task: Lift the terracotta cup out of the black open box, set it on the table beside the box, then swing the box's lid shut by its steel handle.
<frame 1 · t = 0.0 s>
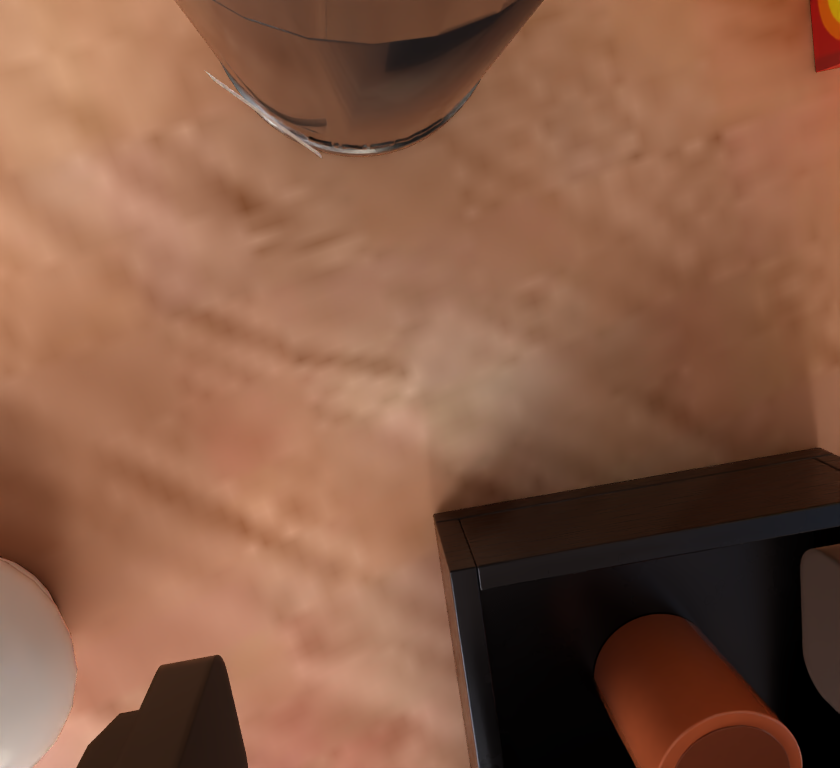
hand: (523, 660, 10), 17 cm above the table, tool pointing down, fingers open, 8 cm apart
terracotta cup: (653, 669, 29), point 1 cm above the table, touching black open box
black open box: (646, 677, 30), on the table
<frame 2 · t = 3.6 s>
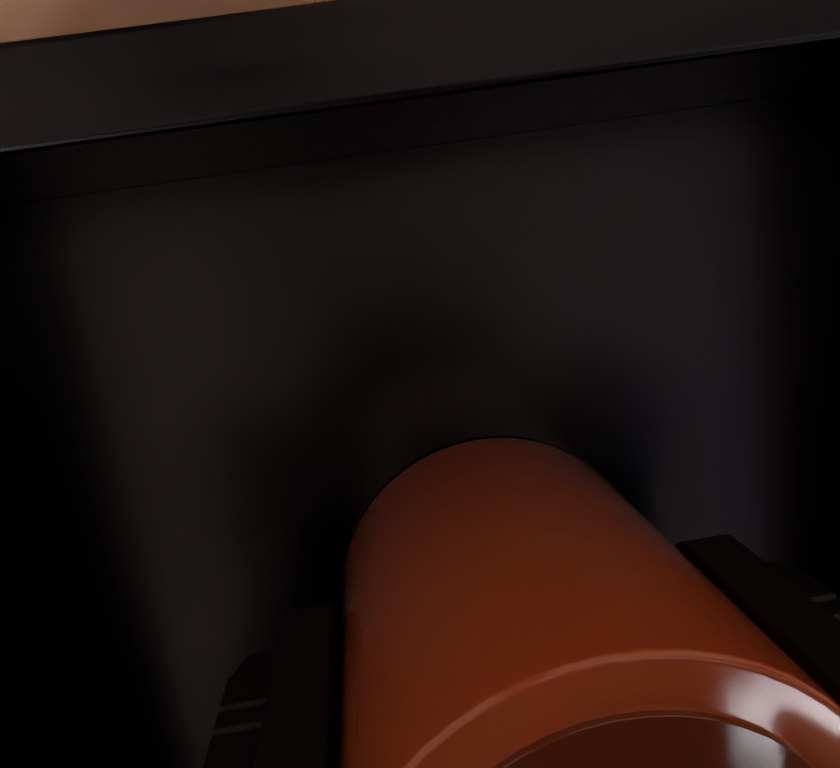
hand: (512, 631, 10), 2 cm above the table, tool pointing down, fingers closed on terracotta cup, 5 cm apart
terracotta cup: (493, 580, 12), point 1 cm above the table, touching gripper, black open box
black open box: (490, 607, 13), on the table
when the fingers open (2 cm above the table, at t = 11.0 s): terracotta cup stays where it is, on the table.
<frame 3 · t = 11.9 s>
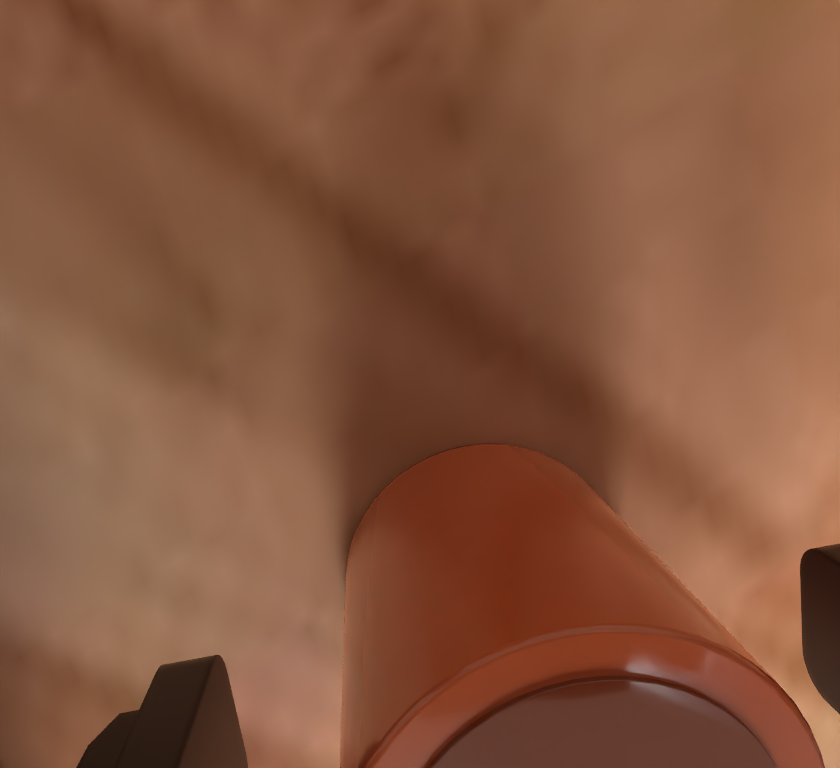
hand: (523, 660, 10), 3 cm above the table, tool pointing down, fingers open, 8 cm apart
terracotta cup: (484, 575, 13), on the table
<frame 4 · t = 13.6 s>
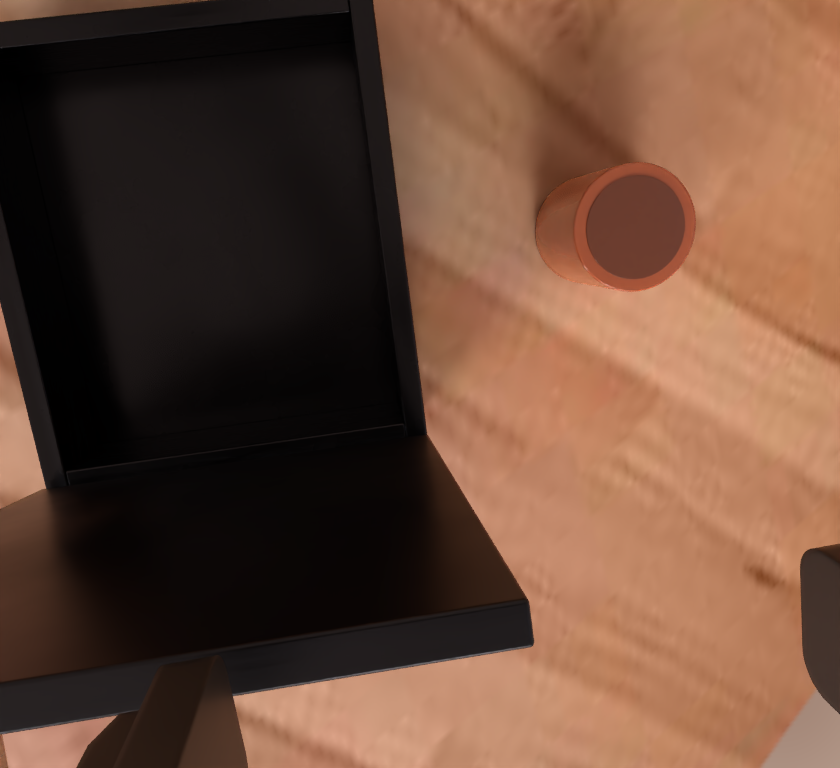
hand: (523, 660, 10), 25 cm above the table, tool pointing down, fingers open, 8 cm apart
lid: (191, 609, 20), point 15 cm above the table, hinge at 82.3°
terracotta cup: (586, 230, 34), on the table
black open box: (223, 250, 32), on the table
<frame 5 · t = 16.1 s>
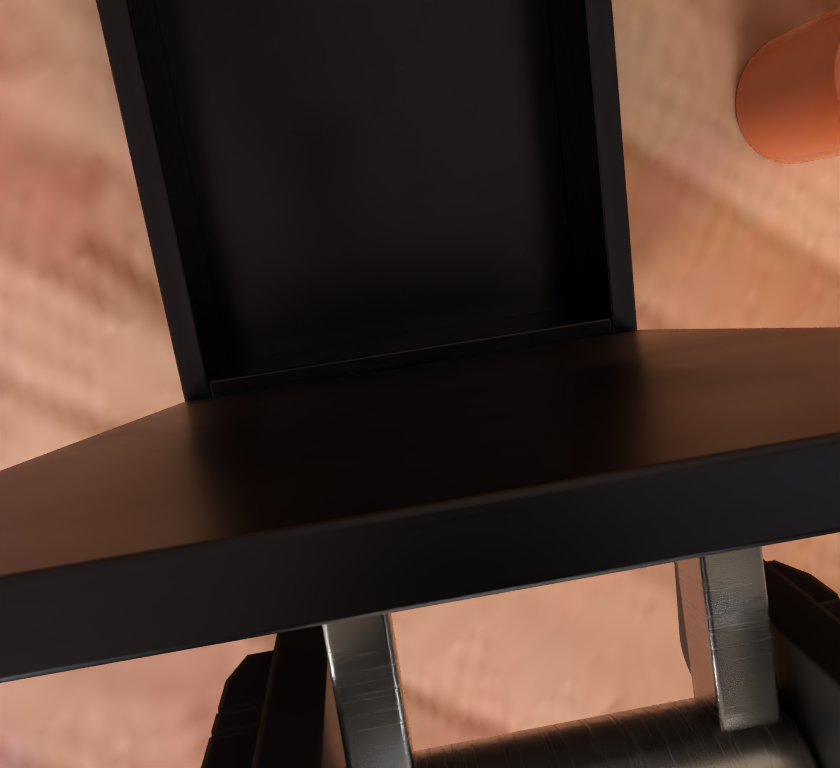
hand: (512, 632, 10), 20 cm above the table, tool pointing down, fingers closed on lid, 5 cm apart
lid: (464, 507, 15), point 15 cm above the table, hinge at 82.3°, touching gripper
terracotta cup: (794, 99, 28), on the table
black open box: (372, 126, 27), on the table
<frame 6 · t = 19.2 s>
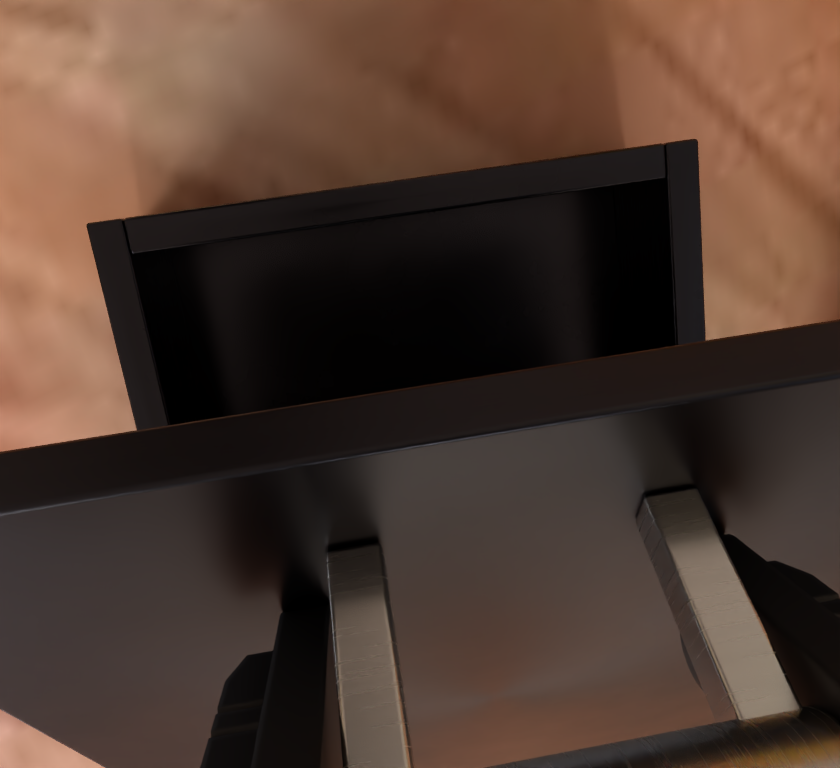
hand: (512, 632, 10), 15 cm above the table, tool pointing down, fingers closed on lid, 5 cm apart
black open box: (426, 447, 25), on the table
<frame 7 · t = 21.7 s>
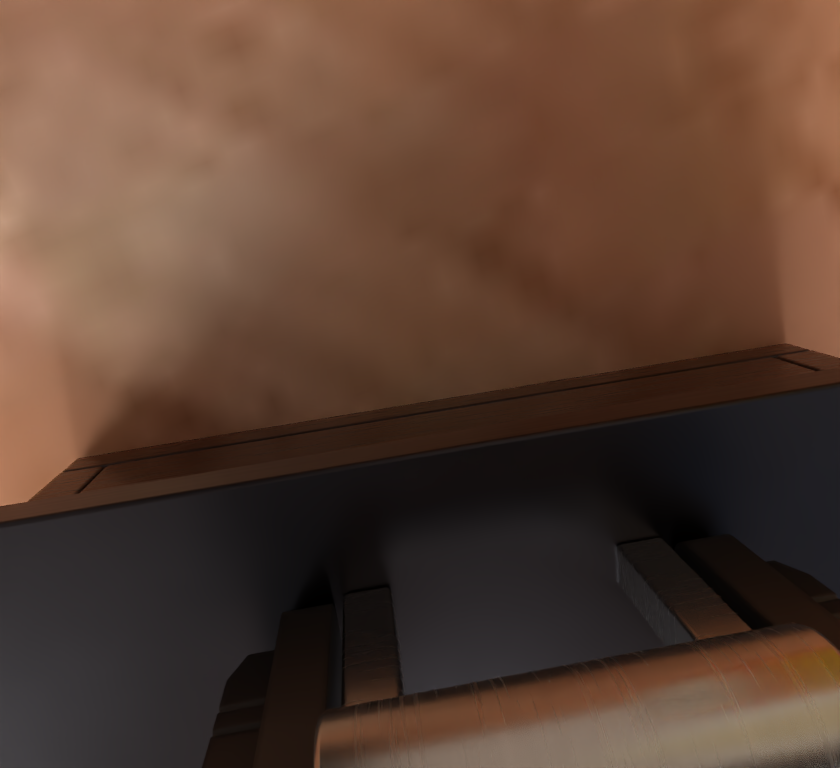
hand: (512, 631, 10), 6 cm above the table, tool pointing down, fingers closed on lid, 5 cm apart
black open box: (490, 741, 17), on the table
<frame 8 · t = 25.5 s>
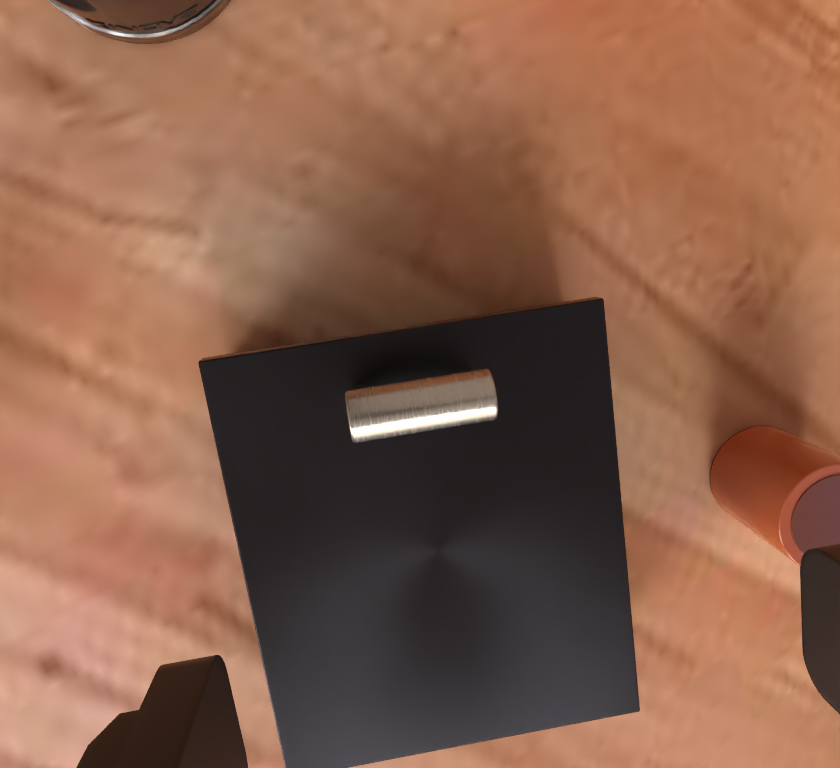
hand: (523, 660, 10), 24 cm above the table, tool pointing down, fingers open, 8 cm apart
lid: (443, 571, 27), point 8 cm above the table, hinge at -0.2°, touching black open box
terracotta cup: (756, 473, 36), on the table
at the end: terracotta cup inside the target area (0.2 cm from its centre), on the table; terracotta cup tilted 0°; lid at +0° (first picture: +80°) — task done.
